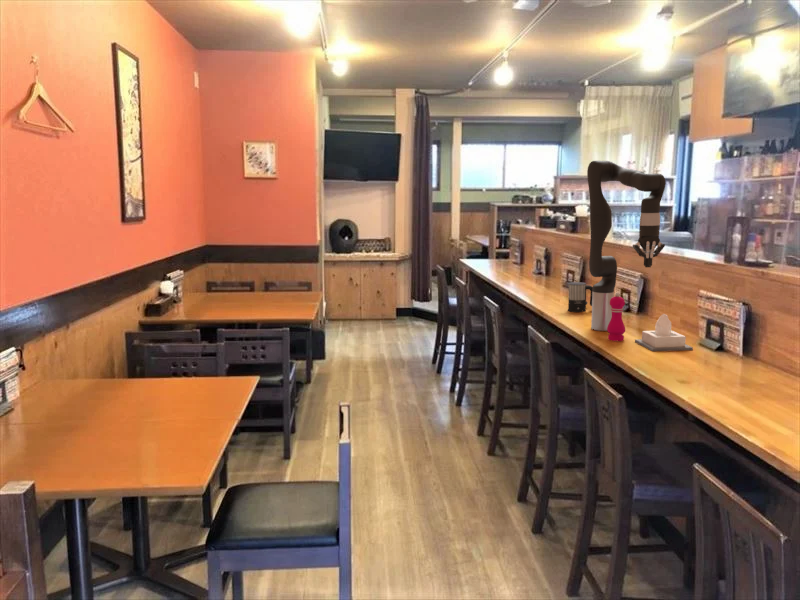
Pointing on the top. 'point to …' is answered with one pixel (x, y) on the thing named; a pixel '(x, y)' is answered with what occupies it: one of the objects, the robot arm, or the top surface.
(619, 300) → the pepper mill
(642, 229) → the robot arm
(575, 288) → the milk frother
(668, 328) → the white pointed cylinder
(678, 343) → the holder
